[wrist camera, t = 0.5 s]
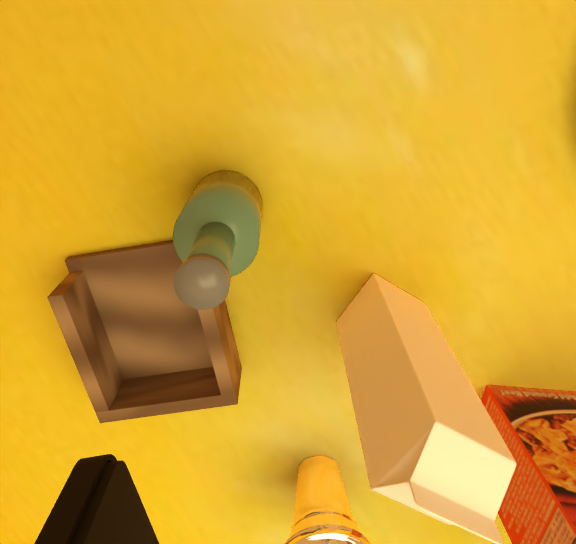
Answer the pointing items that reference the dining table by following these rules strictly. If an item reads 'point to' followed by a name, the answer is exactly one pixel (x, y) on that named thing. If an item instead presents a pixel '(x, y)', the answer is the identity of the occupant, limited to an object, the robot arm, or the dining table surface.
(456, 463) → the milk
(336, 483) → the cup with straw
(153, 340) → the u rest
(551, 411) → the pasta box
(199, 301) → the bottle
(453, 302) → the dining table surface
